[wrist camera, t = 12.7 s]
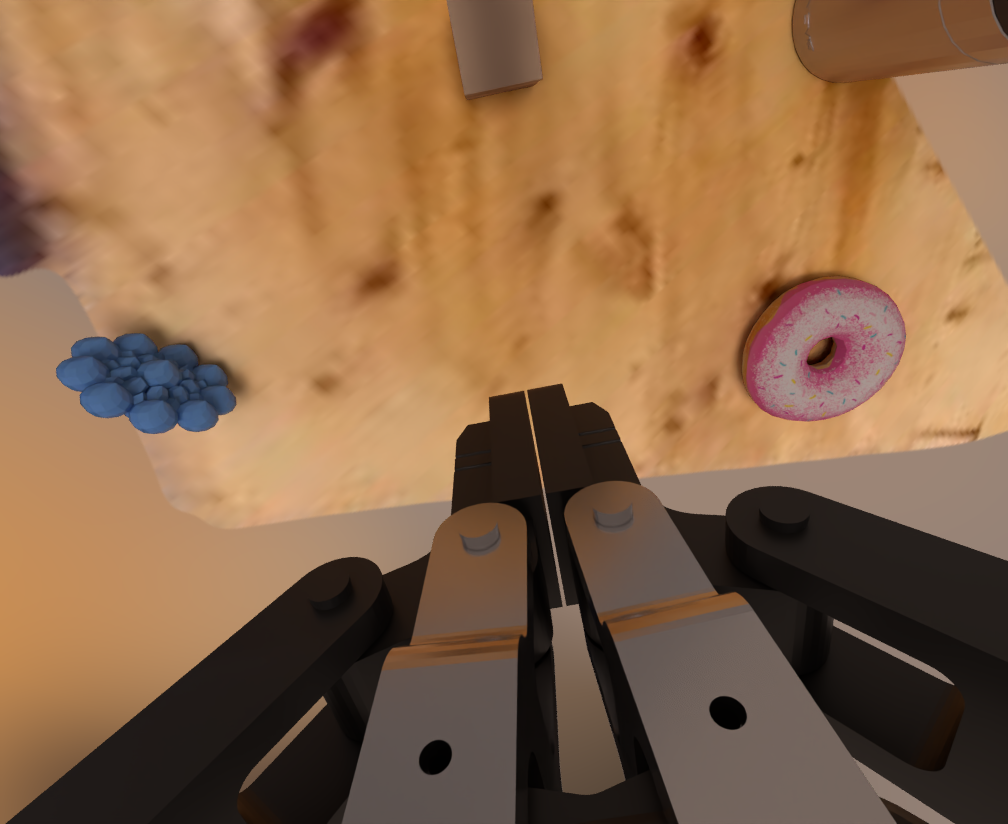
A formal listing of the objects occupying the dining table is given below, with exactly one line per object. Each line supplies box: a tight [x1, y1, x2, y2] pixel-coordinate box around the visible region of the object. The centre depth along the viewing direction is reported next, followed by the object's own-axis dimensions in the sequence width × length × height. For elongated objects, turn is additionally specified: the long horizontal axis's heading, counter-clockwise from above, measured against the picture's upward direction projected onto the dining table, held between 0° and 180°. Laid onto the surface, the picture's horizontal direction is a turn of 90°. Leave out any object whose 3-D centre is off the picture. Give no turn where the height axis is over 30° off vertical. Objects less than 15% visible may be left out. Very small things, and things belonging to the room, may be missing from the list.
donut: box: [742, 276, 906, 421], centre depth 49 cm, size 14×13×5 cm
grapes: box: [56, 333, 236, 434], centre depth 44 cm, size 12×7×12 cm, turn 52°
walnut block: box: [447, 0, 543, 100], centre depth 36 cm, size 5×5×7 cm
